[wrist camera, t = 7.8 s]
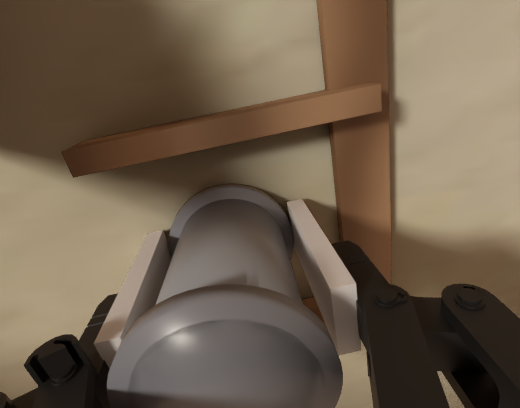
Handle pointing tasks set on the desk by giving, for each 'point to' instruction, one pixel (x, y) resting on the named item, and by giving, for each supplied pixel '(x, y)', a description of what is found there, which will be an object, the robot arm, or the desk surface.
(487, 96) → the desk surface
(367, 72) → the comb rack
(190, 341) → the grey spool
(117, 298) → the robot arm
